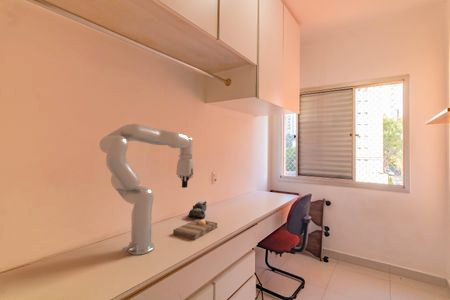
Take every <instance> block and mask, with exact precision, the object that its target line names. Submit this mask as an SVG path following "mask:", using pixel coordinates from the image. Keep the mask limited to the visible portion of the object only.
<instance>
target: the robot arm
mask: <svg viewBox="0 0 450 300" xmlns="http://www.w3.org/2000/svg"><path fill="white" fill-rule="evenodd" d="M132 141H133V142H139V143H145V144H150V145H156V146H168V147H169V148H171V149H179V155H178V160H177V165H176V171H175V172H176V175H177V178H180V180H181V188H183V189H184V188H188V185H189V183H188V181H190V179H193V177H194V176H193V175H194V160H193V145H194V144H193V143H194V140H193V138H192V137H190V136H187V135H186V134H183V133H179V132H175V131H168V130H164V129H159V128H155V127H151V126H147V125H144V124H140V123H129V124H124V125H122V126H119V128H117V129H116V130H114V131H112V132H110V133H109V134H106V135H105V136H104V137H102V138H101V139H100V141H99V148H100V151H102V152H103V153H105V154H106V157H105V161H106V162H105V163H106V167H107V169H108V171H109V172H110V173H111V177H110V182H111V185H112V187H113V188H114V190H115V191H116V192H117V193H118V194H119V196H120V197H121V198H122V199H123V200H124V201H125V202H126V203H128V204H131V205H133V208H132V211H131V219H130V220H131V222H130V223H131V224H130V225H131V239H130V240H131V241H130V242H129V244H128V245H127V246H125V247H122V250H121V251H122V252H123V253H125V252H127V253H128V254H130V255H138V256H139V255H144V254H149V253H151V252H152V251H154V250H155V244H154V243H153V242H152V210H153V203H154V193H153V191H152V189H150V188H149V187H146V186H140V183H141V180H140V177H139V175H138V174H137V173H136V171H135V170H134V169H133V167H132V166H131V165H130V164H129V162H128V161H127V157H126V156H127V151H128V148H129V142H132Z"/></svg>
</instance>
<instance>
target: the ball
mask: <svg viewBox="0 0 450 300" xmlns="http://www.w3.org/2000/svg"><path fill="white" fill-rule="evenodd" d="M204 220H205V219H200V221H199V222H198V225H202V226H204V225H206V222H205V221H206V220H205V221H204Z"/></svg>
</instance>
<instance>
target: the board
mask: <svg viewBox="0 0 450 300" xmlns="http://www.w3.org/2000/svg"><path fill="white" fill-rule="evenodd" d="M200 220H201V219H199V218H197V219H194V220H193V221H190V222H188V223H186V224H184V225H180V226H179V227H176V228H174V229H173V230H172V231H173V233H172V234H173V236H176V237H177V236H178V237H180V238H183V239H184V238H185V239H189V240H193V241H196V240H198V239H199V238H201V237H203V236H205V235H206V234H209V233H210V232H212V231H214V230H215V229H217V228H218V222H214V221H210V220H205V219H203V220H204V221H205V222H206V225H204V226H202V225H198V222H199V221H200Z"/></svg>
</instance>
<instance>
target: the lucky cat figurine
mask: <svg viewBox="0 0 450 300" xmlns="http://www.w3.org/2000/svg"><path fill="white" fill-rule="evenodd" d="M206 211H207V200H206V201H203V200H202V201H201V200H199V201H198V202H196V203H195V204H194V205H192V209H190V210H189V212H188V214H187V217H189V218H190V217H191V218H192V217H196V218H203V219H205V218H206Z"/></svg>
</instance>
